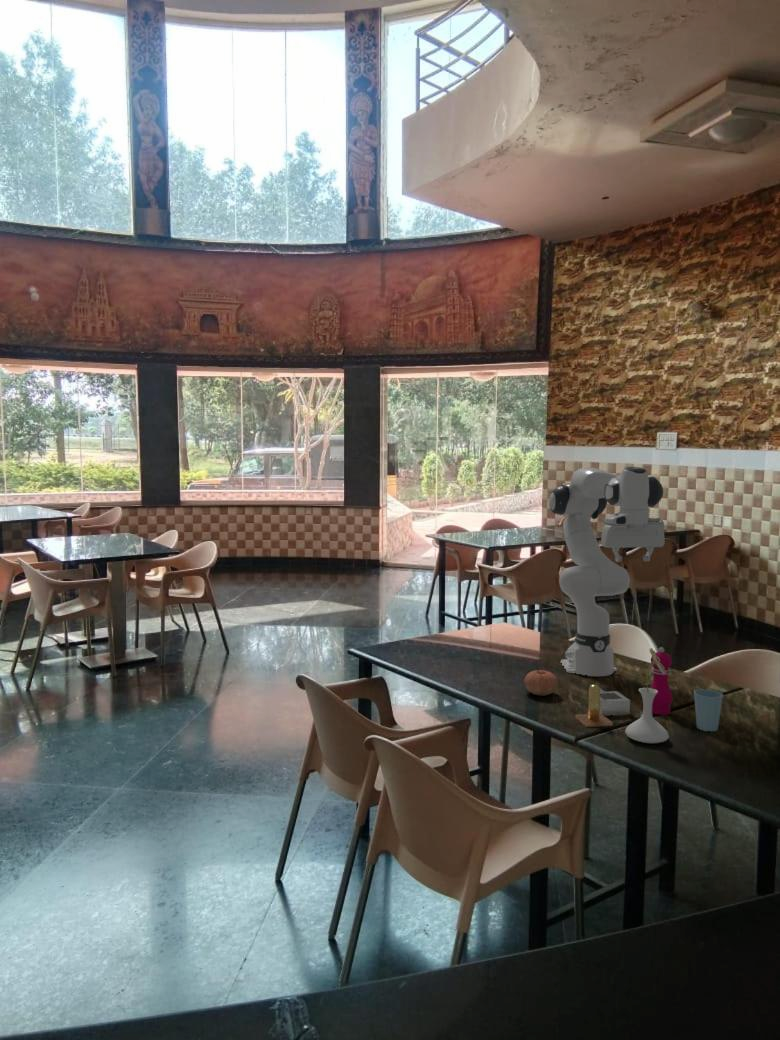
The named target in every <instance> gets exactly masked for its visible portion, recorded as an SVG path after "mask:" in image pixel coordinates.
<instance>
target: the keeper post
mask: <svg viewBox="0 0 780 1040" xmlns="http://www.w3.org/2000/svg"><path fill="white" fill-rule="evenodd" d="M590 685H591V686H590ZM590 685H589V688H588V705H587V706H588V711H587V713H584V714H583V713H581V714H574V715H575V716H574V717H575V718H574V719H576V720H577V719H578V720H579V721H578V720H577V721H578V722H580V723H581V724H582V725H583V726H584V725H585V726H584V727H586V728H596V727H612V726H613V724H614V723H613V722H614V721H613V722H612V721H611V720H610V719H609V718H608V717H607V716H604V715H602V714H601V713H600V688H601V687H600V686H599V685H597V684H595V685H592V684H590Z"/></svg>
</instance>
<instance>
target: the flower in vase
mask: <svg viewBox="0 0 780 1040" xmlns="http://www.w3.org/2000/svg"><path fill="white" fill-rule="evenodd" d="M649 653H650V655H651V657H653V659H654V660H653V663H652V664H651V665H650V666H649V669H648V670H647V673H645V677H646V683H644V684H643V685H644V686H645V685H646V687H642V688H641V687H640V688H638V692H639V693H640V694H641V697H642V705H643V709H642V715H641V717H640V718H638V719H637V720H635V721H633V722H632V723H629V725H628V726H627V727H626V729H625V731H624V732H625V734H626V736H627V737H628V738H630V739H632V740H634V741H636V742H639V743H640V742H641V743H644V744H659V743H664V742H666V741H667V740H668V739H669V737H670V736H669V732H668V731H667V729H665V727H663V725H661V724H660V723H659V722H658V721H657V720H656V719H655V718H654V717H653V713H652V703H653V699H654V697H655V695H656V694H657V693H658V691H657V690H655V689H652V688H650V687H649V685H652V683H653V679H652V680H651V678H650V677H649V674H650V671H651V670H652V668H653V664H657V666H658V668H659V669H660V670H661V672H662V673H663V674H665V673H666V671H665V670H664V669H665V668H664V667H663V666H662V664H661V663H660V659H659V658H658V657H657V656H656V651H655V650H654V649H653V647H650V648H649Z"/></svg>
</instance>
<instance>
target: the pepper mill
mask: <svg viewBox="0 0 780 1040" xmlns="http://www.w3.org/2000/svg"><path fill="white" fill-rule="evenodd" d="M655 653H656V656H657V657H658V658H659V659H660V663H661V664H662V666H663V667H664V668H665V669H664V670H665V671H666V673H665V674H663V673H662V672H661V670H660V669H659V668H658V666H657V664H653V666H652V667H651V672H652V674H653V678H652V681H653V683H651V684H650V687H649V688H652V689H655V690H657V691H658V693H657V694H656V695H655V697H654V699H653V703H652V714H654V715H659V716H660V715H663V716H665V715H666V716H667V715H669V714H671V703H672V702H673V693H672V690H671V688H670V685H669V681H668V680H669V679H668V676H669V675H670V667H671V666H672V660H673V659H672V657H671V656H670V655H669V653H667V652H665V648H664V647H662V646H661V647H659V648H658V651H657V652H656V651H655ZM653 660H654V659H653V657H652V656H651V658H650V663H651V665H652V663H653Z"/></svg>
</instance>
